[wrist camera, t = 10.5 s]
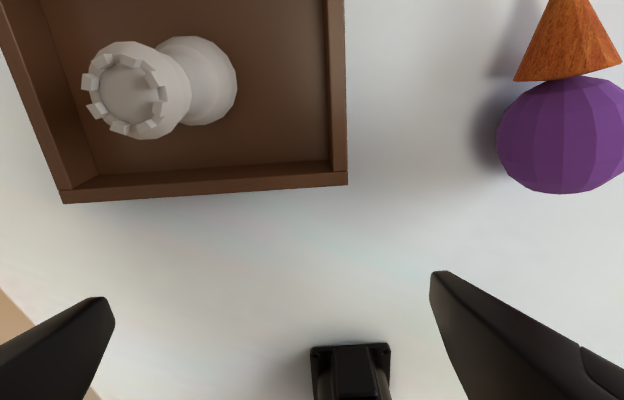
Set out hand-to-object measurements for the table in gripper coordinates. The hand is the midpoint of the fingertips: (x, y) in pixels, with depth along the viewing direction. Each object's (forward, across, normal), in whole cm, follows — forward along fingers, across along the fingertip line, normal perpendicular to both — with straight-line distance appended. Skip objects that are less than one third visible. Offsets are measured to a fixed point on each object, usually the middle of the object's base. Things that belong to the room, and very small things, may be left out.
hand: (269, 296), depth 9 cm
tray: (+12, +4, -6) cm, 14 cm away
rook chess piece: (+12, +4, -6) cm, 14 cm away
